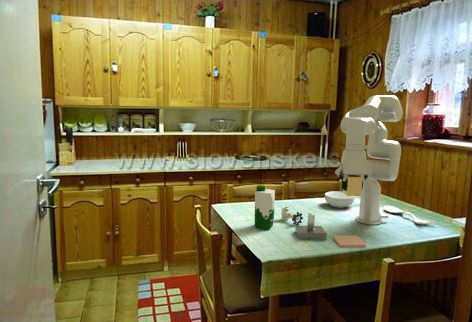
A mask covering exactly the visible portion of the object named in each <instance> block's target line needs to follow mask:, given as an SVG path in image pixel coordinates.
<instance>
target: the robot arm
mask: <svg viewBox="0 0 472 322" xmlns="http://www.w3.org/2000/svg"><path fill="white" fill-rule="evenodd" d="M403 114H404V113H403V107H402V104H401V102H400V99H399V98H398V97H397V96H396V95H388V94H387V95H386V94H384V95H383V94H382V95H380V94H377V95H372V96H370V97H369V98H368V99H367V100H366V102H365V103H364V104H363V105H362V106H359V107H356V108H353V109H351V110H349V111H348V112H346V113H345V115H344V116H343V117H342V119H341V121H340V130H341V132H342V133H344V134H345V136H346V137H345V149H344V150H343V151H342V155H341V159H340V166H339V167H337V169H336V170H334V174H335V175H336V176H337V177H338V178H339V179H340V180H341V189H342V191H343V190H344V191H346V185H347V181H346V179H347V176H348V175H359V176H361V177H363V179H362V193H361V196H360V199H359V200H360V202H359V215H357V216H356V217H355V221H356V222H358V223H361V224H365V225H372V226H373V225H375V226H376V225H380V224H382V220H383V219H389V215H388V214H384V213H380V206H381V197H382V196H381V195H382V193H381V192H382V187H381V185H380V183H379V182H378V181H384V182H385V181H387V182H394V181H396V179H397V178H398V176H399V170H400V169H399V168H400V162H401V154H402V147H401V144H400V142H399V141H397V140H387V138H388V135H389V134H388V129H387V128H386V126H385V124H383V123H382V122H387V123H388V122H389V123H390V122H391V123H396V122H399V121H401V119H402V118H403ZM366 136H368V141H367V144H366ZM365 150H366V151H365ZM367 156H368V157H369V158H372V159H367ZM374 159H375V160H374ZM376 159H379V160H376ZM385 160H388V161H385Z"/></svg>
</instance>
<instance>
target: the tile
mask: <svg viewBox="0 0 472 322" xmlns="http://www.w3.org/2000/svg"><path fill="white" fill-rule="evenodd" d="M332 239H333V240H334V241H335V242H336V244H337V245H338V247H339V248H367V245H366V243H365V242H364V241H363V240H362V239H361V238H360V237H359V236H358V235H332Z"/></svg>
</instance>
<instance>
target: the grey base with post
mask: <svg viewBox="0 0 472 322" xmlns="http://www.w3.org/2000/svg"><path fill="white" fill-rule="evenodd" d="M315 219H316V214H315V213H313V212H312V213H310V212H309V213H307V225H294V228H295V231H294V233H295V234H296V236H297V238H298V240H310V241H311V240H314V241H315V240H319V241H320V240H322V241H323V240H324V241H326V240H327V236H328V235H327V232H326V230H325V229H324V228H323V226H322V225H315V221H316V220H315Z"/></svg>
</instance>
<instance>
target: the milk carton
mask: <svg viewBox="0 0 472 322" xmlns="http://www.w3.org/2000/svg"><path fill="white" fill-rule="evenodd" d="M275 192H276V189H275V190H274V189H271V188H269V189H268V188H266V186H265V185H264V184H261V185H260V184H259V185H256V190H255V191H254V229H256V230H257V229H258V230H264V231H270V230H271V229H272V227H273V226H274V221H275V199H276V193H275Z"/></svg>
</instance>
